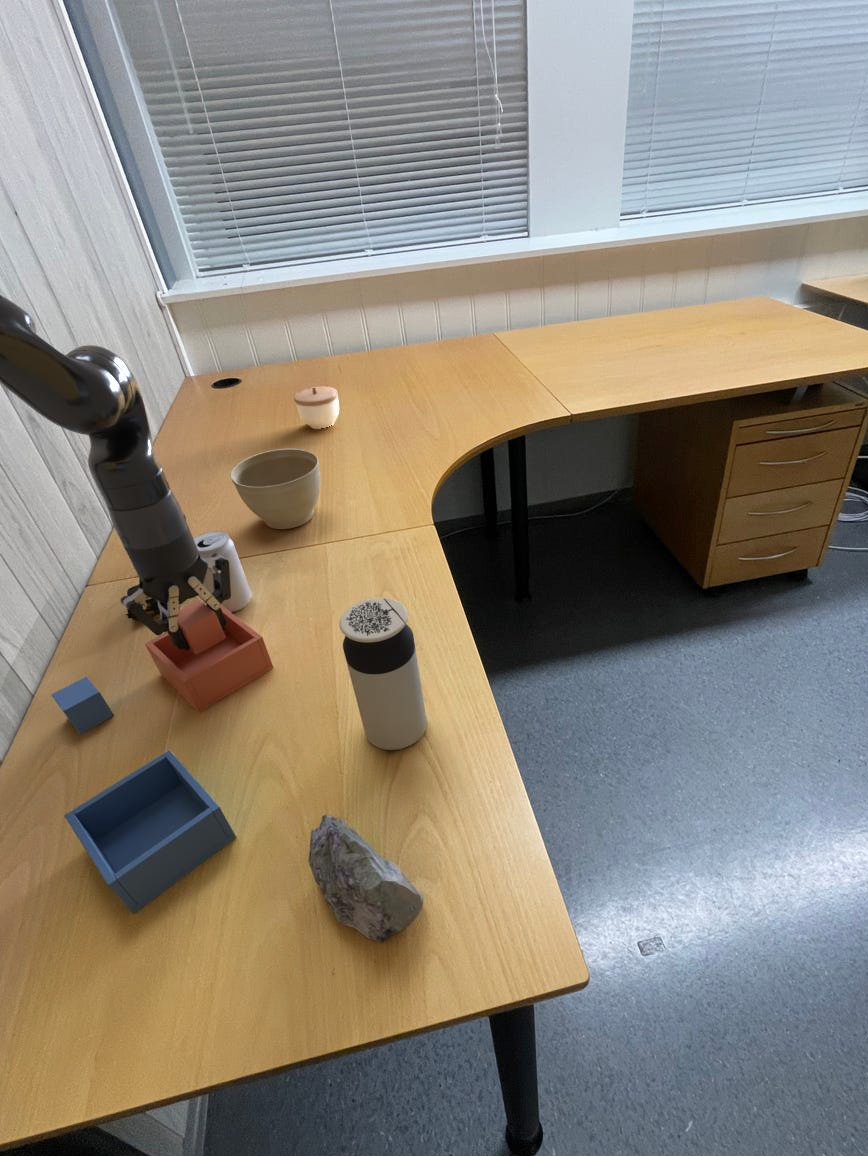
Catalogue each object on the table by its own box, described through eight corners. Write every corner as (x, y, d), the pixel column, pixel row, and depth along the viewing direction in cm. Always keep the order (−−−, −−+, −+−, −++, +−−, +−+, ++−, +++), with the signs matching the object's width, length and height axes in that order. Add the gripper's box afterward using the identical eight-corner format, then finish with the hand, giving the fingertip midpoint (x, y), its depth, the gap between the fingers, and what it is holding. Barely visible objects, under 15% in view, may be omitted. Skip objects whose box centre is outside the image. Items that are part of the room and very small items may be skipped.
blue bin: (133, 914, 62) (107, 885, 59) (89, 845, 69) (63, 815, 65) (236, 837, 68) (219, 806, 65) (187, 780, 75) (169, 749, 71)
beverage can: (205, 605, 102) (179, 542, 94) (240, 587, 105) (217, 525, 98) (225, 620, 98) (199, 556, 91) (260, 601, 102) (238, 538, 94)
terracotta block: (196, 655, 83) (183, 629, 80) (180, 641, 86) (168, 615, 83) (226, 638, 86) (215, 612, 83) (210, 625, 88) (199, 599, 85)
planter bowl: (292, 491, 131) (279, 442, 124) (347, 510, 124) (336, 459, 117) (230, 525, 122) (211, 473, 115) (285, 548, 114) (269, 494, 107)
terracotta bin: (199, 712, 83) (183, 681, 80) (160, 674, 90) (144, 643, 86) (273, 667, 89) (262, 636, 86) (232, 634, 96) (220, 604, 92)
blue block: (80, 734, 81) (63, 711, 78) (67, 717, 84) (50, 694, 81) (114, 715, 84) (99, 691, 81) (101, 699, 86) (86, 676, 83)
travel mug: (375, 760, 76) (347, 649, 64) (358, 716, 81) (329, 607, 70) (436, 738, 78) (419, 627, 66) (415, 697, 83) (397, 588, 72)
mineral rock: (311, 843, 67) (288, 787, 61) (409, 819, 69) (396, 762, 63) (316, 963, 58) (289, 911, 51) (430, 932, 59) (418, 879, 53)
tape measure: (133, 602, 104) (124, 584, 101) (176, 592, 105) (168, 573, 103) (132, 626, 99) (121, 607, 96) (177, 614, 100) (168, 596, 98)
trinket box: (350, 425, 158) (342, 387, 152) (310, 436, 154) (301, 398, 148) (332, 413, 165) (325, 377, 159) (294, 424, 161) (285, 386, 155)
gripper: (194, 498, 80) (235, 603, 91) (81, 544, 73) (140, 653, 84) (223, 516, 76) (262, 624, 87) (106, 567, 69) (165, 678, 80)
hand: (202, 637), depth 85 cm, fingers closed on terracotta block, 4 cm apart
